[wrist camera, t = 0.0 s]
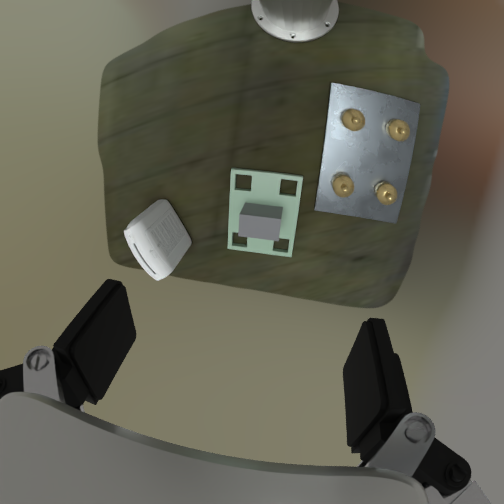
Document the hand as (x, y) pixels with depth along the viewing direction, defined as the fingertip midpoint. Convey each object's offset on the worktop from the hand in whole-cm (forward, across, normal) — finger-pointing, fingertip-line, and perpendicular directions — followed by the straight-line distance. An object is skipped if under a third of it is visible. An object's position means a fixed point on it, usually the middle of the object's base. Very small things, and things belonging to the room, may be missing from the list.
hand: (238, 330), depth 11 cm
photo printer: (+37, +18, +14) cm, 43 cm away
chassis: (+37, -13, -2) cm, 39 cm away
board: (+37, +2, +10) cm, 38 cm away
